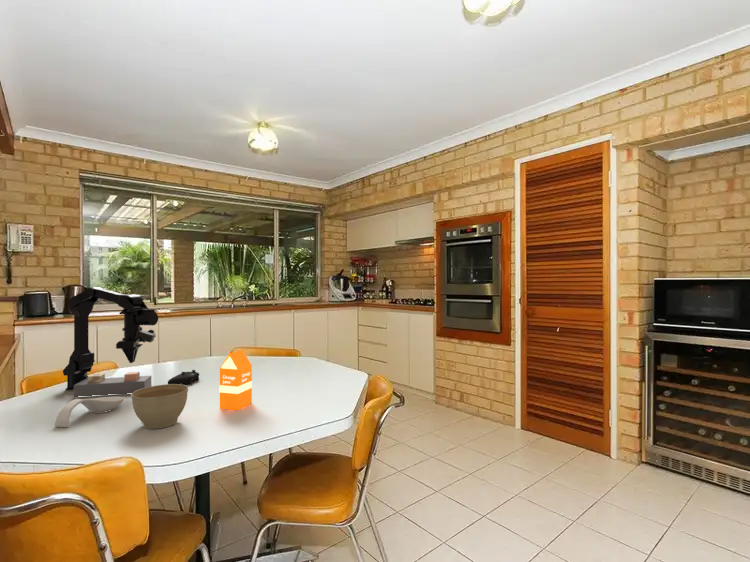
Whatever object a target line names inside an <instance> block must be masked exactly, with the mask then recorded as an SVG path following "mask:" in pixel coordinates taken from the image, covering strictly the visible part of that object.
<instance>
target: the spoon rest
mask: <svg viewBox="0 0 750 562" xmlns="http://www.w3.org/2000/svg"><path fill="white" fill-rule="evenodd" d="M124 400H125V398H124V397H123V396H101V397H96V398H95V397H94V398H86V399H85V398H84V399H81V398H74V399H72V400H70V401H69V402H67V403H65V405H64V406H63V407H62V408H61V410H60V411H59V412H58V414H57V416H56V419H55V420H54V421H55V422H54V427H55V428H69V427H70V424H71V423H70V418H71V413H72V411H73V410H74V409H75V408H76V407H77V406H78V405H80V404H82V405H83V406H84V407H85V408H86V409H87V410H89V411H90V412H92V413H93V412H104V413H106V412H105V411H108V412H110V411H109V410H111V411H114V409H117V408H118V407H119V406H121V404H122V403H123V402H124Z"/></svg>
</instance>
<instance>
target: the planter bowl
mask: <svg viewBox="0 0 750 562" xmlns="http://www.w3.org/2000/svg"><path fill="white" fill-rule="evenodd" d="M188 392H189V386H188V385H185V384H168V383H167V384H158V385H151V387H147V388H143V389H140V390H137V391H135V392H133V393H132V394H130V397H131V398H130V399H131V402H132V403H131V404H132V408H133V411H134V414H135V416H136V417H137V419H138V420H139V421H140V422H141V423H142V424H143V428H145V429H148V430H149V429H151V430H152V429H153V430H155V429H161V428H162V429H163V428H167V427H171V426H173V425H175V424H176V423H177V422H178V421H179V419H178V418H179V417H180V416H181V414H182V413H183V411H184V409H185V407H186V404H187V400H188Z"/></svg>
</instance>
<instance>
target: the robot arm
mask: <svg viewBox="0 0 750 562" xmlns="http://www.w3.org/2000/svg"><path fill="white" fill-rule="evenodd" d="M100 299H101V300H103V301H107V302H111V303H114V304H117V305H118V306H119V307H120V308H122V310H121V311H120V312H119V315H123V323H124V324H123V328H122V332H123V337H122V339H121V340H119V341H118V342H116V343H115V349H117V350H118V349H119V350H122V352H123V354H124V355H125V356H126V360H128V363H129V364H133V363H135V361H136V358H137V354H138V351H139V349H140V348H141V346H143V343H152V342H154V340H155V338H156V337H157V335H156V333H155V329H154V330H153V329H149V330H148V331H147V330H143V326H156V325H157V323H158V322H159V316H158V313H157V312H155V308H149V307H148V306H147V304H146V303H145V302H144V300H143V297H142V295H139V294H129V293H127V294H123V293H120V292H116V291H113V290H109V289H106V288H103V287H100V286H99V287H98V286H95V287H93V286H92V287H89V288H88V289H86V290H84V291H81V292H80V293H77V294H76V295H73V296H71V297H70V298H69V300H68V307H69V312H70V313H71V314H72V316H73V324H74V325H73V329H74V330H73V332H74V333H73V352H72V353H71V354H70V356H69V360H68V364H67V365H66V366H65V368H64V369H63V370H62V374H63V376H64V377H65V376H66V377H67V379H66V381H67V382H66V383H67V386H66V388H65V389H73V390H74V385H75V384H77V383H79V382H81V381H83V380H85V379H88V376H89V375H88V373H90V372H91V371H92V368H93V366H94V363H95V362H96V360H95V353H94V352H92V351H91V350H90V349H89V316H90V314H91V313H92V311H93V310H94V304H96V303H97V302H98V301H99V300H100Z"/></svg>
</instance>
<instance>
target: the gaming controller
mask: <svg viewBox="0 0 750 562" xmlns="http://www.w3.org/2000/svg"><path fill="white" fill-rule="evenodd" d="M199 376H200V373H199V372H198V371H196V370H195V369H191V371H181V373H178V374H177V375H175V376H173V377H172V378H170V379H169V380H168V381H167V384H180V385H186V386H188V385H192V382H193V381H195V380H196V381H199V380H200V377H199Z"/></svg>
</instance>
